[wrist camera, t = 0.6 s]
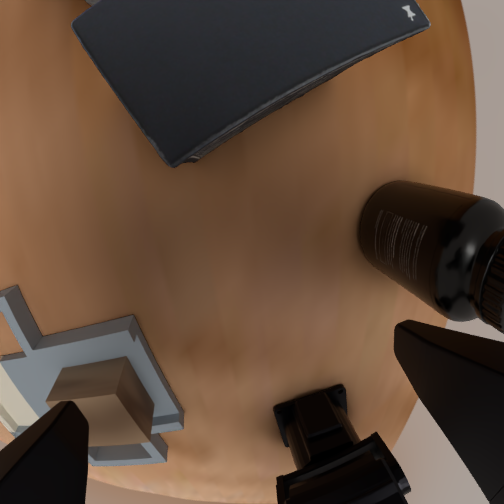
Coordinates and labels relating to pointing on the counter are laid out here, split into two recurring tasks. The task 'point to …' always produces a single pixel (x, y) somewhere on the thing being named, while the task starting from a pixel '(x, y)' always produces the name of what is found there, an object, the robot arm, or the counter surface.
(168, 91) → the small box
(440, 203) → the supplement bottle
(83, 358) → the trap tray
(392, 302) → the counter surface
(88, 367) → the walnut block
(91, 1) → the mate gourd
